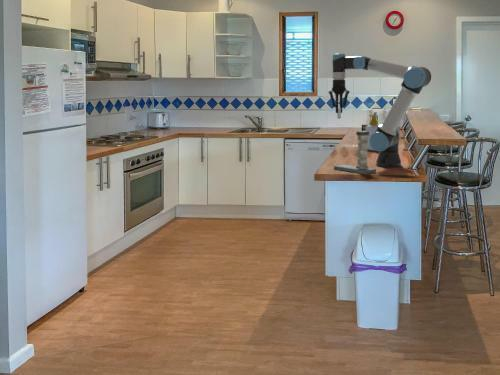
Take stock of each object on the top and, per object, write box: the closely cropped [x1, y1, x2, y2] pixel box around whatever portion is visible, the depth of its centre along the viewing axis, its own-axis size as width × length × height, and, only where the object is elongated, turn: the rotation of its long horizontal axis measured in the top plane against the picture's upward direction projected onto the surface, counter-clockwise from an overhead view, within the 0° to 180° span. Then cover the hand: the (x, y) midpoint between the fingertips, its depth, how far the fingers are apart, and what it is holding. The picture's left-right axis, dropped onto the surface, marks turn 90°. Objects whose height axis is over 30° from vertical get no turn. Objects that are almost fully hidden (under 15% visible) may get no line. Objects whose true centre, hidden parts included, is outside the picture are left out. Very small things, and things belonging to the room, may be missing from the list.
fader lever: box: [355, 130, 369, 169], centre depth 412 cm, size 5×5×21 cm
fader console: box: [333, 164, 377, 175], centre depth 419 cm, size 26×9×2 cm, turn 36°
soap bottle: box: [366, 114, 380, 152], centre depth 518 cm, size 9×9×25 cm
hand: (339, 118), depth 438 cm, fingers closed
